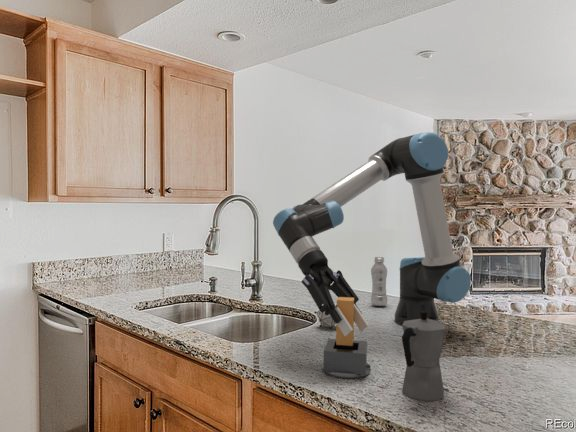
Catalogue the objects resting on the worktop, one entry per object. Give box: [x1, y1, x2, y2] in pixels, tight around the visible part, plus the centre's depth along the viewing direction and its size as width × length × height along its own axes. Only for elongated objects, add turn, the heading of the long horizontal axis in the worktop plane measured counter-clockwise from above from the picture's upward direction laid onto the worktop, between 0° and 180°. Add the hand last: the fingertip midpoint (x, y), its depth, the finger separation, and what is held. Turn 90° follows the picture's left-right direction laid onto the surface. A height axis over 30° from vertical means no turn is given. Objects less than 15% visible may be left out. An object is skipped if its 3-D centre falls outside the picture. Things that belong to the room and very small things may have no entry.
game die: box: [314, 304, 337, 331], centre depth 149 cm, size 9×8×10 cm
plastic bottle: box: [370, 256, 388, 308], centre depth 181 cm, size 6×7×20 cm
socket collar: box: [321, 338, 371, 380], centre depth 111 cm, size 12×12×6 cm
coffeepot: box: [401, 311, 446, 402], centre depth 96 cm, size 15×9×18 cm, turn 137°
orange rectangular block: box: [335, 297, 355, 346], centre depth 110 cm, size 4×4×11 cm
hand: (357, 330), depth 108 cm, fingers closed on orange rectangular block, 6 cm apart
